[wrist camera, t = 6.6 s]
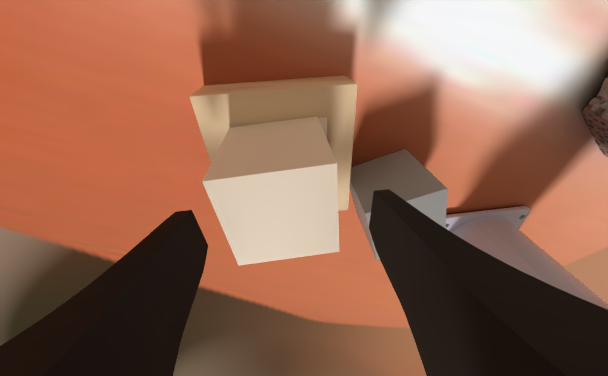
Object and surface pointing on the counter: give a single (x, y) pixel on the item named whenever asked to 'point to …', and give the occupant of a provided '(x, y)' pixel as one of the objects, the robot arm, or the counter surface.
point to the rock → (599, 117)
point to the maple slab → (283, 113)
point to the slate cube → (397, 187)
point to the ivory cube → (276, 191)
